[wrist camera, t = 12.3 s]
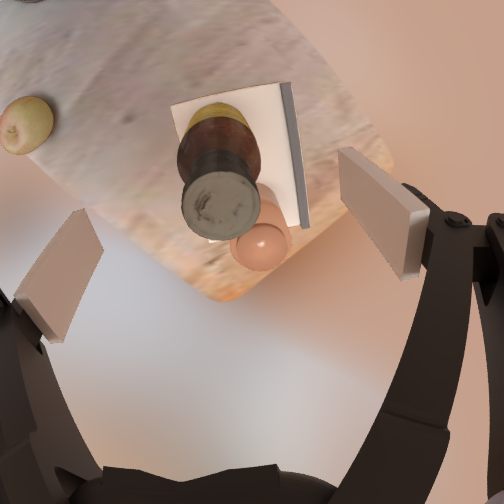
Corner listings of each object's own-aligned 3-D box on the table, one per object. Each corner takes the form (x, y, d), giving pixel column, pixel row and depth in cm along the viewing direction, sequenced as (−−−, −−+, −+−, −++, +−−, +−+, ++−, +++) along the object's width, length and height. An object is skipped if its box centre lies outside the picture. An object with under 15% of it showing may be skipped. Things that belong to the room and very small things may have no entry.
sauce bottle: (179, 122, 30) (124, 187, 14) (227, 90, 29) (230, 111, 12) (212, 166, 33) (202, 275, 17) (259, 138, 32) (300, 219, 15)
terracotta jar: (223, 188, 35) (223, 230, 27) (273, 177, 35) (290, 216, 26) (234, 231, 38) (237, 281, 30) (280, 221, 38) (296, 269, 30)
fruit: (48, 81, 26) (12, 89, 20) (68, 127, 30) (36, 142, 24) (12, 113, 27) (-24, 127, 21) (31, 155, 31) (-1, 175, 25)
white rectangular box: (173, 104, 31) (168, 107, 28) (284, 81, 31) (291, 82, 27) (209, 233, 41) (208, 248, 38) (303, 214, 41) (310, 227, 38)
